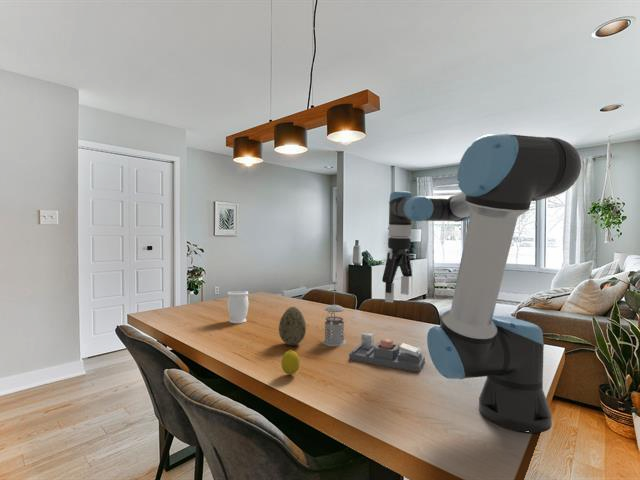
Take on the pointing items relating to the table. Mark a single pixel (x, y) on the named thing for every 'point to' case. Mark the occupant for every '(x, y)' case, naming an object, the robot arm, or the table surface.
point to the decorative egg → (292, 326)
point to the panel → (388, 357)
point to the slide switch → (367, 340)
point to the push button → (386, 343)
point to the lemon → (290, 362)
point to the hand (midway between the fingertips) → (397, 298)
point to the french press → (334, 325)
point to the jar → (237, 306)
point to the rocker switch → (410, 349)
